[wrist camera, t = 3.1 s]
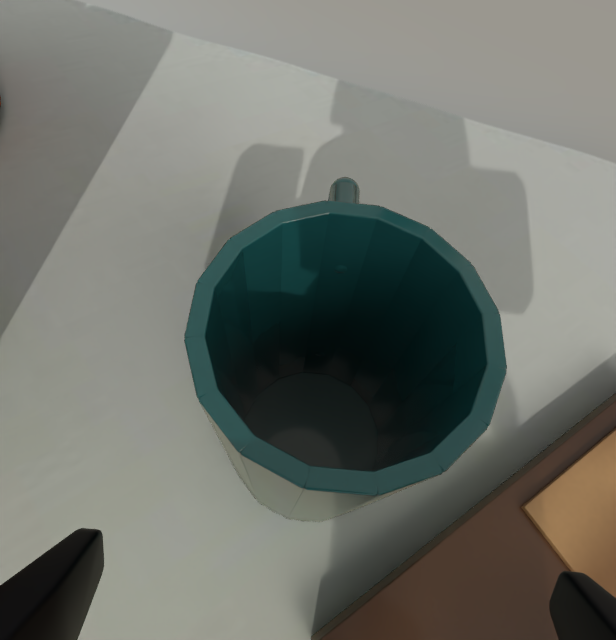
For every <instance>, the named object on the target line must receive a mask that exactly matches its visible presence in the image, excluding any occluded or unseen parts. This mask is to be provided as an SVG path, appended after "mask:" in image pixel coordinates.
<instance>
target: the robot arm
mask: <svg viewBox="0 0 616 640" xmlns="http://www.w3.org/2000/svg"><path fill="white" fill-rule="evenodd" d="M103 568H104V551H103V536H102V532H101V531H100V530H97V529H86V528H81V529H78V530H76V531H74V532H73V533H72V534H70V535H69V536H68V537H66V538H65V539H63V540H62V541H61V542H59V543H58V544H57V545H55V546H54V547H52V548H51V549H50V550H48V551H47V552H46V553H44V554H43V555H42V556H40V557H39V558H37V559H36V560H35V561H33V562H32V563H31V564H29V565H28V566H26V567H25V568H24V569H22V570H21V571H20V572H18V573H17V574H15V575H14V576H13V577H11V578H10V579H9V580H7V581H6V582H5V583H3V584H2V585H0V640H77V639H78V636H79V634H80V631H81V628H82V626H83V623H84V621H85V618H86V615H87V613H88V610H89V607H90V605H91V602H92V599H93V597H94V594H95V592H96V589H97V586H98V584H99V581H100V578H101V575H102V572H103ZM549 610H550V615H551V618H552V621H553V624H554V627H555V630H556V633H557V636H558V639H559V640H616V598H615V597H614V596H613V595H611V594H610V593H609V592H608V591H607V590H605V589H604V588H603V587H602V586H600V585H599V584H598V583H597V582H595V581H594V580H593V579H592V578H590V577H589V576H588V575H586V574H584V573H581V572H572V571H563V572H561V573H560V574H559V576H558V579H557V582H556V584H555V587H554V590H553V593H552V595H551V598H550V602H549Z"/></svg>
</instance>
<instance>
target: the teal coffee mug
mask: <svg viewBox="0 0 616 640" xmlns="http://www.w3.org/2000/svg"><path fill="white" fill-rule="evenodd" d="M359 195H360V191H359V187H358V185H357V183H356V182H355V181H354V180H353V179H351V178H348V177H342V178H339V179H337V180H336V181H335V182H334V183H333V184H332V186H331V188H330V193H329V199H328V201H320V202H316V203H311V204H306V205H301V206H296V207H292V208H287V209H282V210H277V211H275V212H272V213H270V214H269V215H267V216H266V217H264V218H262V219H261V220H259V221H257V222H256V223H254V224H252V225H251V226H249V227H247V228H246V229H244V230H243V231H241V232H239V233H238V234H236V235H234V236H233V237H231V238H230V240H228V241H227V242H226V244H225V245H224V246H223V248H222V249H221V250H220V252H219V253H218V254H217V256H216V257H215V258H214V260H213V261H212V262H211V264H210V265H209V266H208V268H207V269H206V270H205V272H204V273H203V274H202V276H201V277H200V278H199V280H198V282H197V284H196V286H195V291H194V295H193V300H192V304H191V309H190V313H189V318H188V322H187V327H186V331H185V340H184V341H185V346H186V350H187V355H188V359H189V364H190V368H191V373H192V377H193V382H194V386H195V391H196V395H197V398H198V400H199V402H200V404H201V406H202V408H203V410H204V412H205V414H206V415H207V417H208V419H209V421H210V423H211V425H212V427H213V429H214V430H215V432H216V434H217V436H218V438H219V440H220V442H221V443H222V445H223V447H224V449H225V451H226V453H227V455H228V457H229V458H230V460H231V462H232V464H233V466H234V468H235V470H236V472H237V473H238V475H239V477H240V479H241V480H242V481H243V483H244V484H245V485H246V487H247V488H248V490H249V491H250V492H251V493H252V495H253V496H254V497H255V499H256V500H257V501H258V502H259V503H260V504H261V505H263V506H265V507H266V508H268V509H269V510H271V511H272V512H274V513H276V514H279V515H281V516H283V517H284V518H286V519H290V520H298V521H308V522H323V521H326V520H329V519H331V518H335V517H337V516H340V515H343V514H346V513H348V512H351V511H354V510H356V509H358V508H361V507H363V506H366V505H368V504H370V503H373V502H375V501H378V500H380V499H383V498H385V497H387V496H390V495H392V494H395V493H397V492H399V491H402V490H404V489H407V488H409V487H412V486H414V485H416V484H419V483H421V482H424V481H426V480H428V479H431V478H433V477H436V476H438V475H441V474H442V473H443V472H445V471H447V470H448V469H449V467H450V466H451V465H452V464H453V463H454V462H455V461H456V460H457V459H458V458H459V457H460V456H461V455H462V454H463V453H464V452H465V451H466V450H467V449H468V448H469V447H470V446H471V445H472V444H473V443H474V442H475V441H476V440H477V439H478V438H479V437H480V436H481V435H482V434H483V433H484V432H485V431H486V430H487V428H488V426H489V425H490V422H491V419H492V416H493V413H494V409H495V406H496V403H497V400H498V397H499V394H500V391H501V388H502V384H503V381H504V378H505V375H506V369H507V365H506V358H505V350H504V342H503V334H502V326H501V318H500V314H499V311H498V309H497V307H496V305H495V304H494V302H493V300H492V298H491V296H490V295H489V293H488V291H487V289H486V288H485V286H484V284H483V282H482V280H481V279H480V277H479V275H478V273H477V272H476V270H475V268H474V266H473V265H471V263H470V262H469V261H468V260H467V259H466V258H465V257H464V256H462V255H461V254H460V253H459V252H458V251H457V250H456V249H454V248H453V247H452V246H451V245H450V244H449V243H448V242H446V241H445V240H444V239H443V238H442V237H441V236H440V235H438V234H437V233H436V232H435V231H434V230H433V229H430V228H429V227H428V226H426V225H423V224H421V223H419V222H416V221H414V220H412V219H409V218H407V217H405V216H403V215H400V214H398V213H396V212H393V211H391V210H389V209H386V208H384V207H380V206H376V205H367V204H359Z"/></svg>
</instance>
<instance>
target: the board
mask: <svg viewBox="0 0 616 640" xmlns="http://www.w3.org/2000/svg"><path fill="white" fill-rule="evenodd" d="M563 571H572V572H581V573H584V574H586V575H588V576H589V577H590V578H592V579H593V580H594V581H595V582H597V583H598V584H599V585H600V586H602V587H603V588H604V589H605V590H607V591H608V592H609V593H610V594H611V595H613V596H614V597H615V598H616V393H615V394H614V395H613V396H611V397H610V398H609V399H608V400H606V401H605V402H604V403H603V404H601V405H600V406H599V407H598V408H596V409H595V410H594V411H593V412H591V413H590V414H589V415H588V416H586V417H585V418H584V419H583V420H581V421H580V422H579V423H578V424H576V425H575V426H574V427H573V428H571V429H570V430H569V431H568V432H566V433H565V434H564V435H563V436H561V437H560V438H559V439H558V440H556V441H555V442H554V443H553V444H551V445H550V446H549V447H548V448H546V449H545V450H544V451H543V452H541V453H540V454H539V455H538V456H536V457H535V458H534V459H533V460H531V461H530V462H529V463H528V464H526V465H525V466H524V467H523V468H521V469H520V470H519V471H518V472H516V473H515V474H514V475H513V476H511V477H510V478H509V479H508V480H506V481H505V482H504V483H503V484H501V485H500V486H499V487H498V488H496V489H495V490H494V491H493V492H491V493H490V494H489V495H488V496H486V497H485V498H484V499H483V500H481V501H480V502H479V503H478V504H476V505H475V506H474V507H473V508H471V509H470V510H469V511H468V512H466V513H465V514H464V515H463V516H461V517H460V518H459V519H458V520H456V521H455V522H454V523H453V524H451V525H450V526H449V527H448V528H446V529H445V530H444V531H443V532H441V533H440V534H439V535H438V536H436V537H435V538H434V539H433V540H431V541H430V542H429V543H428V544H426V545H425V546H424V547H423V548H421V549H420V550H419V551H418V552H416V553H415V554H414V555H413V556H411V557H410V558H409V559H408V560H406V561H405V562H404V563H403V564H401V565H400V566H399V567H398V568H396V569H395V570H394V571H393V572H391V573H390V574H389V575H388V576H386V577H385V578H384V579H383V580H381V581H380V582H379V583H378V584H376V585H375V586H374V587H373V588H371V589H370V590H369V591H368V592H366V593H365V594H364V595H363V596H361V597H360V598H359V599H358V600H356V601H355V602H354V603H353V604H351V605H350V606H349V607H348V608H346V609H345V610H344V611H343V612H341V613H340V614H339V615H338V616H336V617H335V618H334V619H333V620H331V621H330V622H329V623H328V624H326V625H325V626H324V627H323V628H321V629H320V630H319V631H318V632H316V633H315V634H314V635H313V636H312V637H311V640H559V639H558V636H557V633H556V630H555V627H554V624H553V621H552V618H551V615H550V610H549V602H550V598H551V595H552V593H553V590H554V587H555V584H556V582H557V579H558V576H559V574H560V573H561V572H563Z"/></svg>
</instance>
